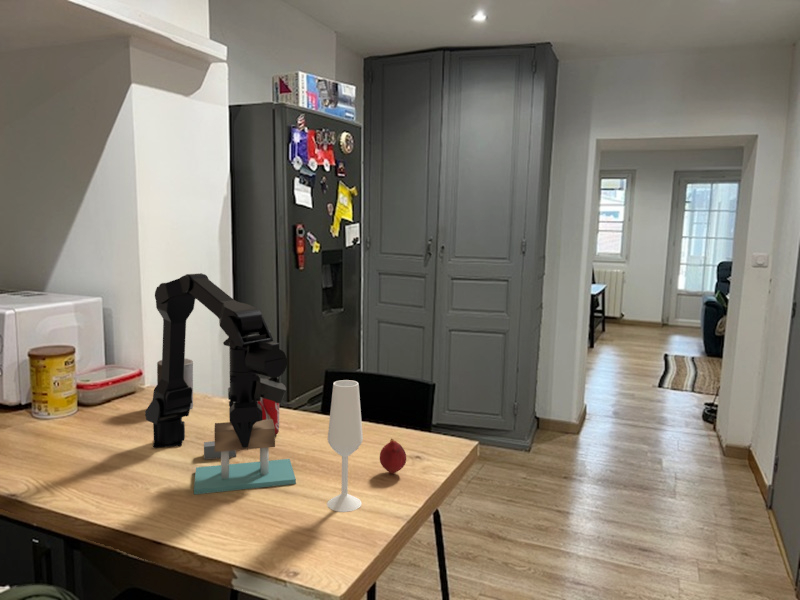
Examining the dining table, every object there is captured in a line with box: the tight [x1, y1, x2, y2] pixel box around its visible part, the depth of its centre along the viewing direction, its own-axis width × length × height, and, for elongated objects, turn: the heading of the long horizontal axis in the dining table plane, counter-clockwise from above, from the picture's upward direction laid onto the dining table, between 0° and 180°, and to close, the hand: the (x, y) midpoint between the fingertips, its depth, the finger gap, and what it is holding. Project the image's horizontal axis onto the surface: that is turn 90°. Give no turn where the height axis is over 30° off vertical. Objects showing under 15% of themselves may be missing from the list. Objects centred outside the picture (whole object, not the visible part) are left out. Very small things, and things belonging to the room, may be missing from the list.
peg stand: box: [193, 447, 297, 495], centre depth 124 cm, size 20×11×7 cm, turn 107°
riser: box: [203, 440, 237, 460], centre depth 136 cm, size 7×3×3 cm, turn 107°
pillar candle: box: [156, 357, 194, 410], centre depth 168 cm, size 10×10×15 cm
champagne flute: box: [326, 379, 364, 513], centre depth 113 cm, size 7×7×24 cm
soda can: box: [258, 397, 280, 436], centre depth 149 cm, size 7×7×12 cm
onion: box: [379, 437, 407, 475], centre depth 128 cm, size 6×6×8 cm
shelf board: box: [214, 419, 276, 452], centre depth 123 cm, size 12×6×4 cm, turn 107°
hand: (244, 441), depth 123 cm, fingers open, 6 cm apart
